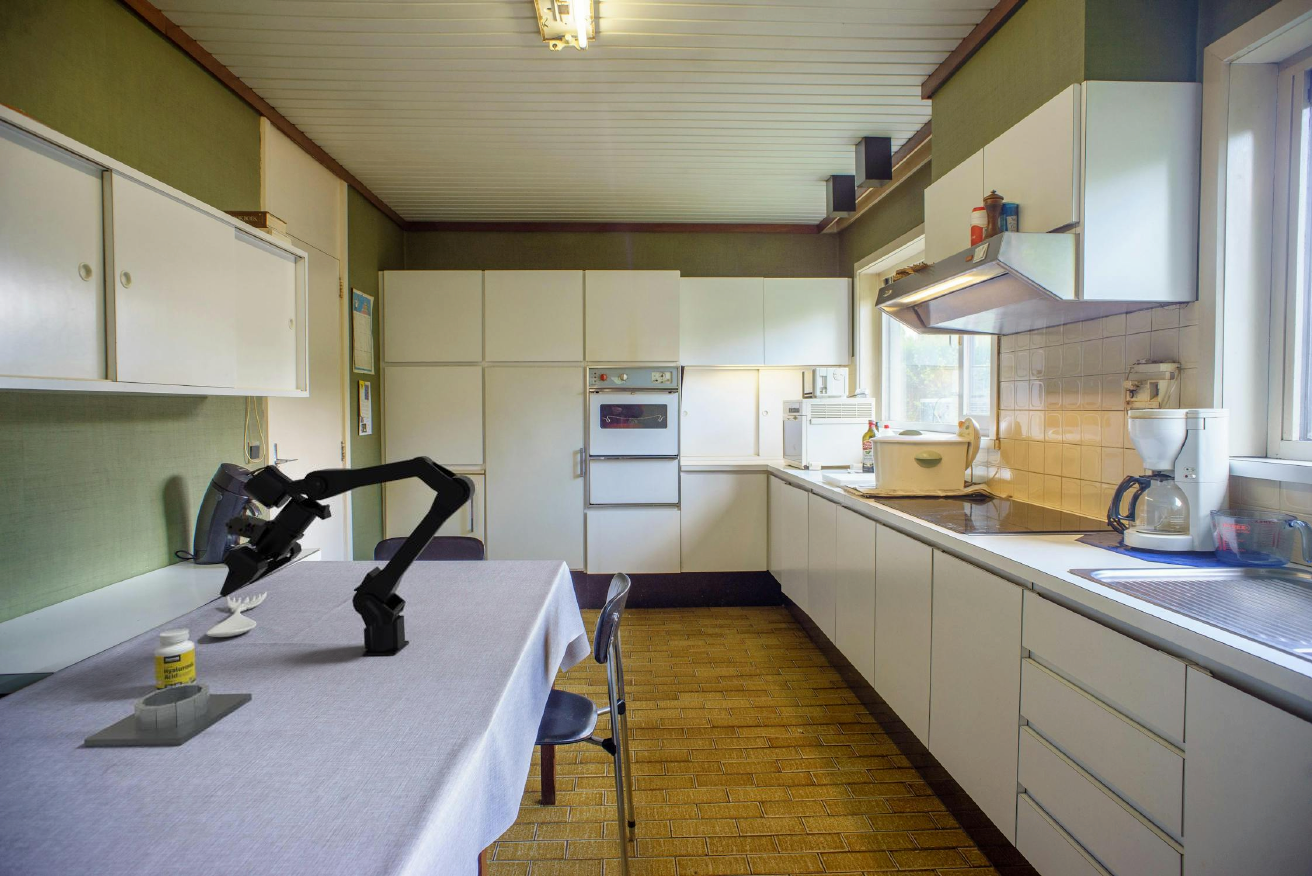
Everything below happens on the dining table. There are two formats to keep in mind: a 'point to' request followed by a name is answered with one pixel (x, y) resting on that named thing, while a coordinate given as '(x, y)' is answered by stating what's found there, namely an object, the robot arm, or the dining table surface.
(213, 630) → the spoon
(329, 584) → the dining table surface
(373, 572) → the robot arm
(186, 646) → the supplement bottle
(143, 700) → the duct collar
